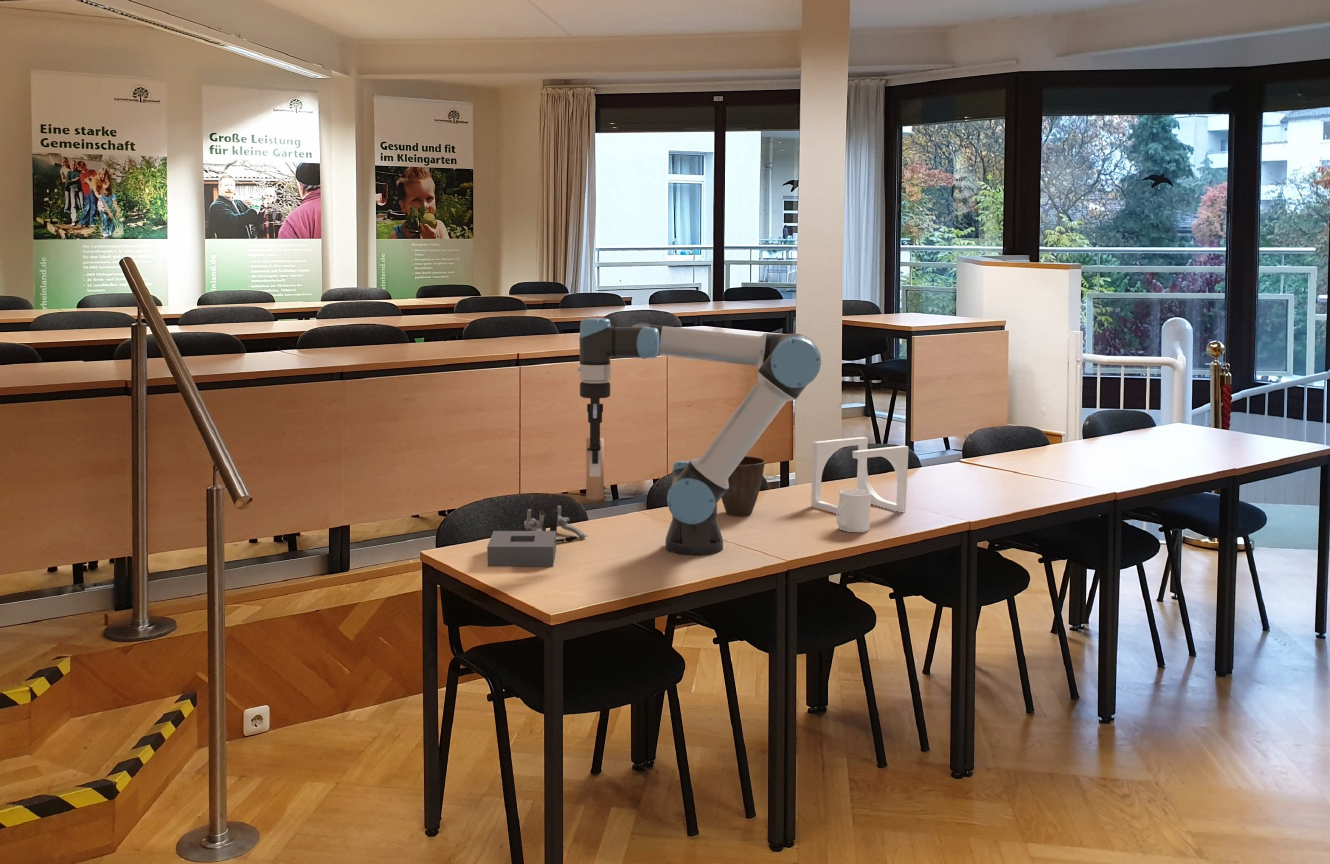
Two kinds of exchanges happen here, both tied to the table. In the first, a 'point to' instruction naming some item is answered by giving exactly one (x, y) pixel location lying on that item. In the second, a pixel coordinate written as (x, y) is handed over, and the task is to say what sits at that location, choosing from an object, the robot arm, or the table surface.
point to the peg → (594, 483)
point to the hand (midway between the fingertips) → (595, 474)
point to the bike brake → (552, 524)
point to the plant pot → (744, 487)
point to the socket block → (521, 549)
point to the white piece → (860, 470)
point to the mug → (854, 510)
